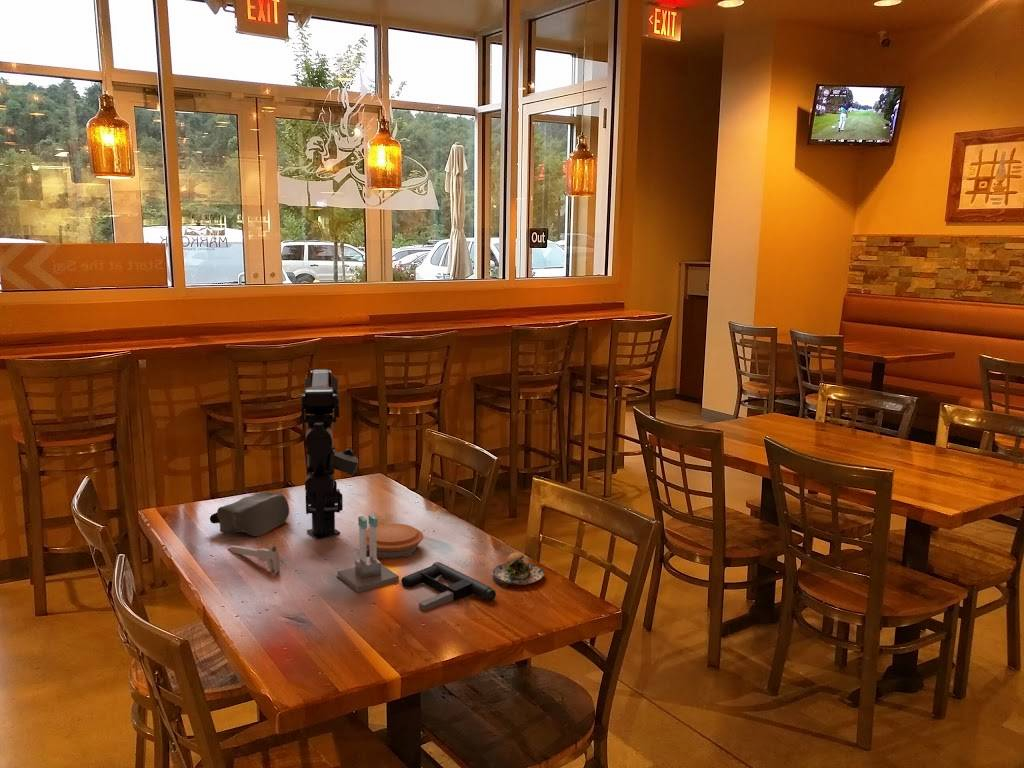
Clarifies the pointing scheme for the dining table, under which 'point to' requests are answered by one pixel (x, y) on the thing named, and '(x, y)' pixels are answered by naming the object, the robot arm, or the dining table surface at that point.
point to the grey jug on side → (253, 514)
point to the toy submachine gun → (456, 591)
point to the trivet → (367, 579)
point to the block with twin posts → (365, 565)
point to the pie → (395, 540)
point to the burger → (517, 571)
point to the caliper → (261, 555)
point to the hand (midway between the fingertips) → (321, 508)
